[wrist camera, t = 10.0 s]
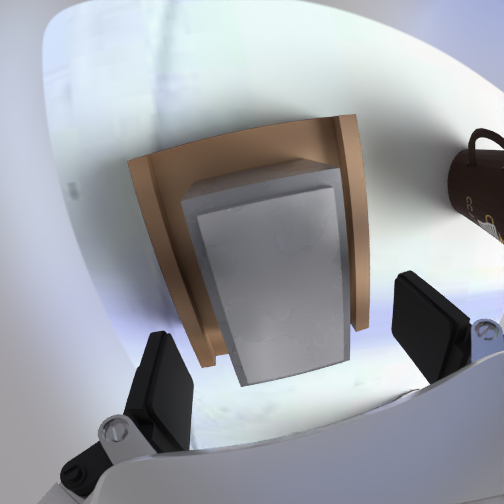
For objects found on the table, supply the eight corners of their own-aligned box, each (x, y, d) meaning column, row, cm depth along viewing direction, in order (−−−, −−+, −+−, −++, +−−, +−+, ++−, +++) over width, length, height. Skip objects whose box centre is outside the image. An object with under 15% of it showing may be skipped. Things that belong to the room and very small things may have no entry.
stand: (344, 292, 23) (368, 327, 18) (204, 325, 23) (201, 367, 18) (324, 118, 17) (355, 114, 13) (151, 155, 17) (127, 161, 13)
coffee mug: (496, 198, 21) (564, 230, 12) (451, 241, 22) (523, 289, 13) (468, 95, 17) (551, 99, 8) (414, 128, 18) (512, 139, 9)
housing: (304, 158, 15) (343, 169, 10) (323, 310, 18) (352, 364, 13) (194, 181, 14) (178, 203, 10) (236, 330, 18) (241, 392, 13)
